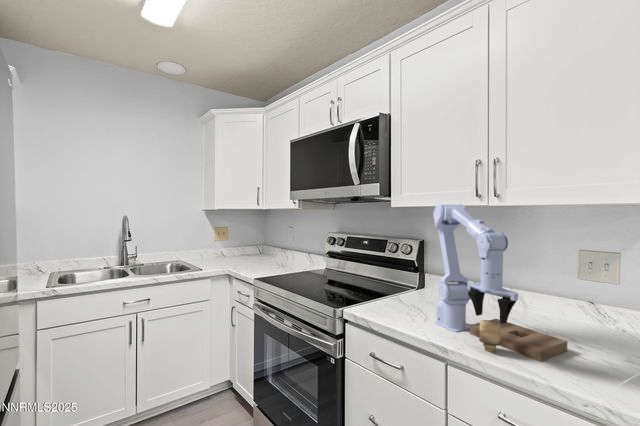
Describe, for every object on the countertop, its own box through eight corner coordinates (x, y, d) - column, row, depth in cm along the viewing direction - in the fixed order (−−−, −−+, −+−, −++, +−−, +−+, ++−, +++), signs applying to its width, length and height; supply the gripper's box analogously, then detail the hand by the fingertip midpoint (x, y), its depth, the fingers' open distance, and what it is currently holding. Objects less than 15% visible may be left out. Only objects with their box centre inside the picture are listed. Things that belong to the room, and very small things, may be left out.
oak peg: (475, 348, 96) (475, 321, 96) (486, 345, 99) (487, 319, 99) (492, 355, 91) (492, 328, 91) (504, 352, 94) (504, 324, 94)
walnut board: (470, 333, 107) (470, 324, 107) (496, 326, 114) (496, 318, 114) (540, 361, 88) (541, 350, 88) (567, 351, 95) (567, 341, 95)
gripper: (461, 269, 99) (460, 313, 99) (508, 279, 86) (507, 329, 86) (475, 268, 102) (475, 310, 103) (522, 276, 90) (522, 324, 90)
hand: (490, 318), depth 95 cm, fingers open, 7 cm apart
